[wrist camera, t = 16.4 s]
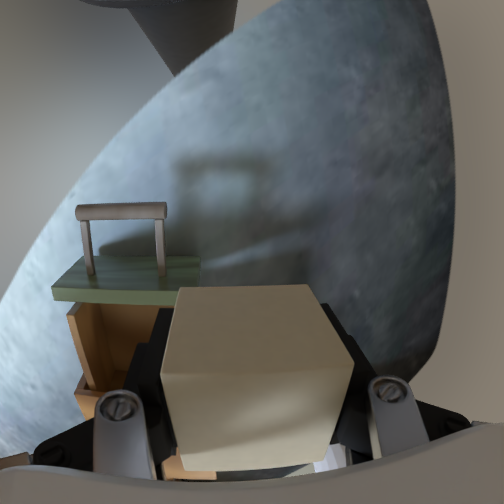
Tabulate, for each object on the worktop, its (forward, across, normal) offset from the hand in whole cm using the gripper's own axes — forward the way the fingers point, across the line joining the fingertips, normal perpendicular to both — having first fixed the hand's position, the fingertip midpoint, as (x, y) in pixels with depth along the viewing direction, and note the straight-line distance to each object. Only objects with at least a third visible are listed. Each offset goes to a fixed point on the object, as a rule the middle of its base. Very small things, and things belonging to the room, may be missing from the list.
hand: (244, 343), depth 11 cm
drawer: (+17, +8, +7) cm, 20 cm away
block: (0, 0, 0) cm, 0 cm away
